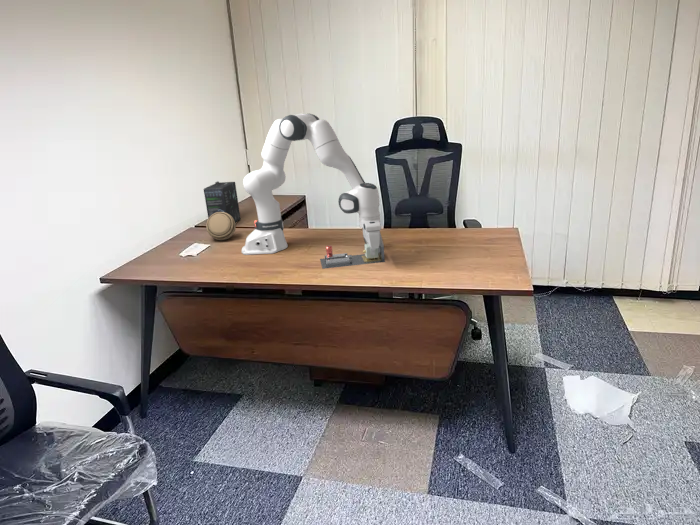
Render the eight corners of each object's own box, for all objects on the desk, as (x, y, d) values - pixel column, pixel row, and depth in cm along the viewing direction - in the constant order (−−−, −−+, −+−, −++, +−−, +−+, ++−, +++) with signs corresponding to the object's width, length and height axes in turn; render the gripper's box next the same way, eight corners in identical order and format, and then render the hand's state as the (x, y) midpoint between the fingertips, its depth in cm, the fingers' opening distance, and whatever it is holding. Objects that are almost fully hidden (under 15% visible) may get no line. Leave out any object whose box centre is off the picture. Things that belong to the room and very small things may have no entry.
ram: (327, 263, 207) (325, 247, 205) (326, 261, 210) (325, 245, 207) (352, 260, 208) (351, 245, 206) (351, 258, 211) (350, 243, 208)
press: (322, 270, 202) (321, 255, 200) (320, 261, 214) (318, 246, 212) (385, 264, 205) (384, 248, 203) (379, 254, 217) (378, 239, 215)
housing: (364, 258, 208) (363, 247, 206) (362, 255, 212) (362, 244, 211) (378, 257, 208) (377, 246, 206) (376, 253, 213) (375, 243, 211)
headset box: (222, 220, 300) (216, 178, 292) (241, 219, 299) (235, 177, 290) (209, 230, 279) (201, 185, 271) (229, 229, 278) (222, 184, 269)
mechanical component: (203, 241, 258) (198, 213, 253) (226, 234, 268) (222, 207, 263) (219, 245, 248) (215, 217, 244) (243, 237, 259) (239, 210, 254)
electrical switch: (372, 252, 221) (370, 232, 219) (363, 251, 225) (361, 232, 222) (384, 246, 228) (382, 227, 226) (375, 246, 231) (373, 227, 229)
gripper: (358, 216, 214) (360, 246, 219) (366, 228, 195) (368, 260, 200) (372, 215, 215) (374, 244, 220) (381, 227, 196) (383, 259, 201)
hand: (371, 252), depth 210 cm, fingers closed on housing, 5 cm apart
